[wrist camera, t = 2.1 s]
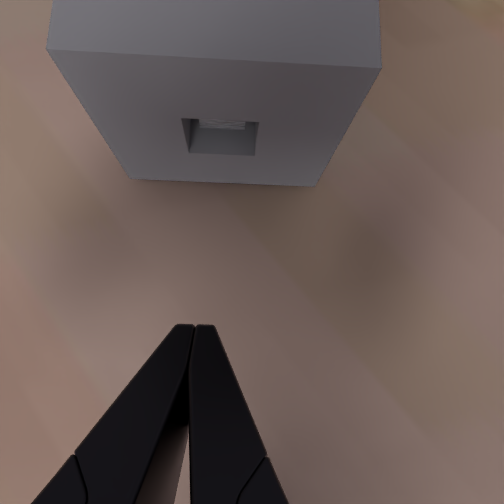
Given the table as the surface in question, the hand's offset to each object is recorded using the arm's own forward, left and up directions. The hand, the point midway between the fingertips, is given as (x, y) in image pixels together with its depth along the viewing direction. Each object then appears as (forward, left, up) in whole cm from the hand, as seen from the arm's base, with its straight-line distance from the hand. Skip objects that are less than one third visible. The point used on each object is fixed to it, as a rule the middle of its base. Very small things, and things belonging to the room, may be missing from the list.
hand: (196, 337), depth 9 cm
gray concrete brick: (+7, +6, -12) cm, 15 cm away
